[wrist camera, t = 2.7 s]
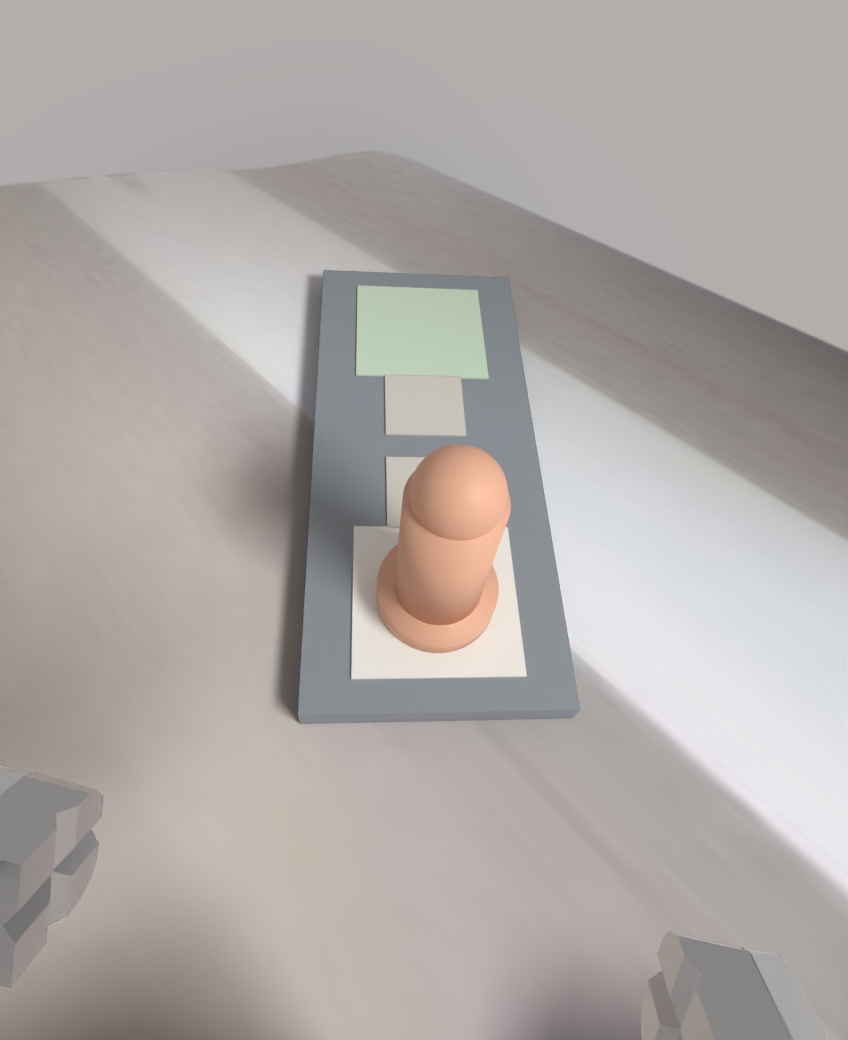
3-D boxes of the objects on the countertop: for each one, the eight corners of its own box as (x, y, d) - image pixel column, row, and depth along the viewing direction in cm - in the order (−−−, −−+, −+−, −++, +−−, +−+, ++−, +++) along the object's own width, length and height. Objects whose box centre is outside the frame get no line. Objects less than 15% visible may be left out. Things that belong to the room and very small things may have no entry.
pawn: (476, 537, 30) (518, 393, 22) (508, 640, 27) (568, 520, 19) (366, 555, 29) (369, 412, 21) (389, 663, 26) (402, 546, 19)
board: (504, 294, 41) (508, 276, 40) (572, 718, 27) (581, 708, 26) (324, 286, 40) (323, 268, 39) (300, 723, 26) (297, 714, 25)
